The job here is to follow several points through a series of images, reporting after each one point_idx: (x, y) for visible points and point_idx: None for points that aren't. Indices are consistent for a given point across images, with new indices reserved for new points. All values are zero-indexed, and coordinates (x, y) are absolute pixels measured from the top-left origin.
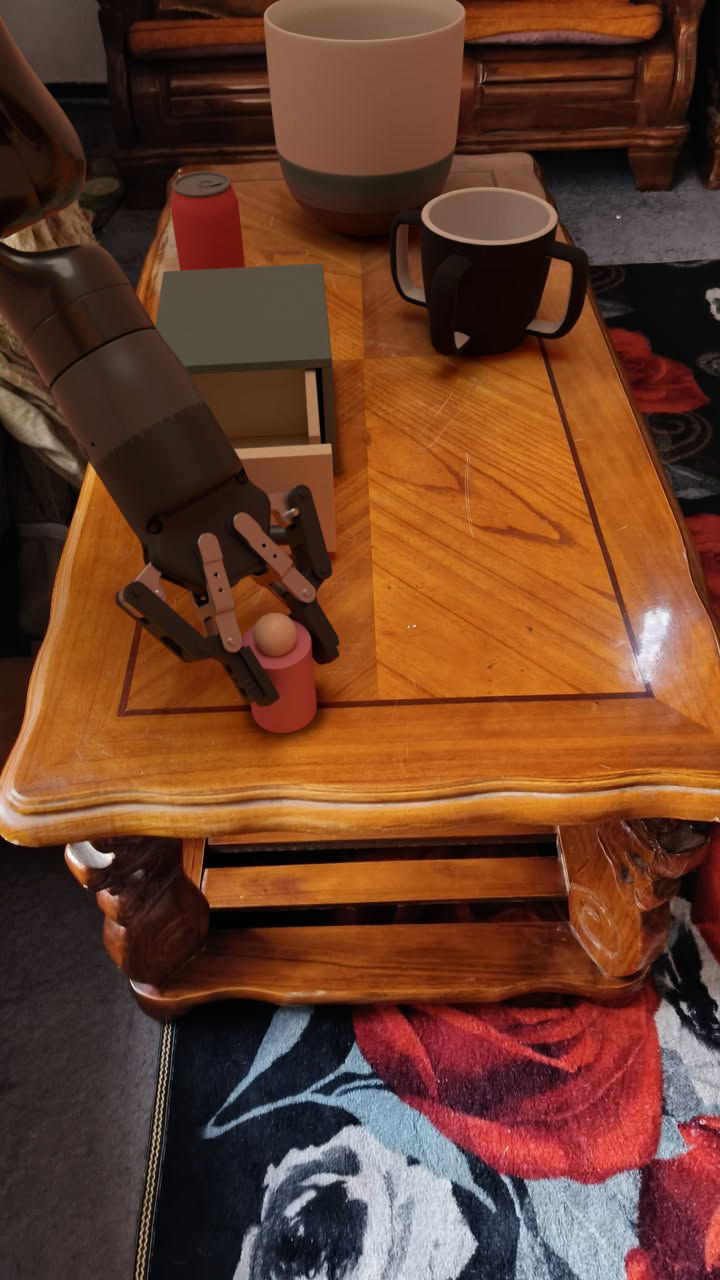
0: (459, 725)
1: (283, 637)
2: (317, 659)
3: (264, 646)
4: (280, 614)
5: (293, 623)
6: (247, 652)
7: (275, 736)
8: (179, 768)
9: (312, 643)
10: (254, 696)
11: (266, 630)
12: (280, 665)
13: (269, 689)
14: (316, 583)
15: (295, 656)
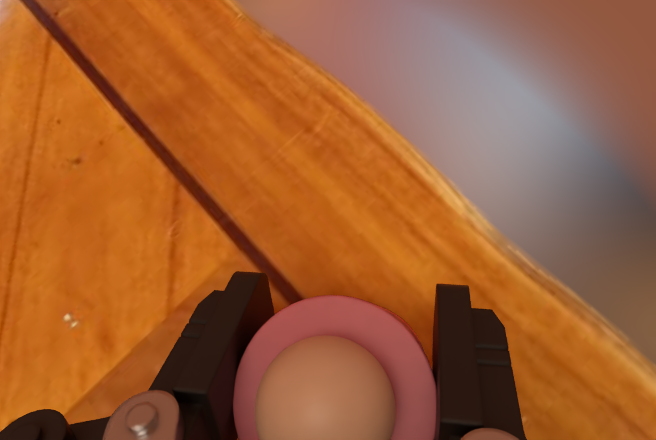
0: (200, 117)
1: (333, 352)
2: None
3: (390, 390)
4: (273, 425)
5: (265, 375)
6: (458, 407)
7: (422, 331)
8: (620, 427)
9: None
10: (495, 323)
11: (359, 410)
12: (386, 325)
13: (456, 301)
14: (90, 435)
15: (334, 315)
